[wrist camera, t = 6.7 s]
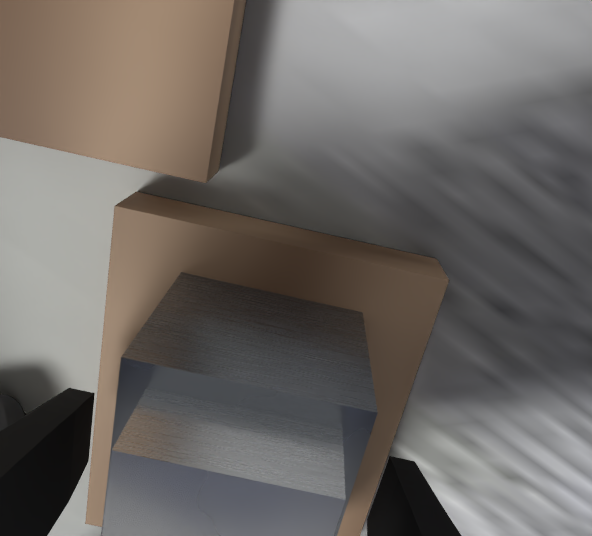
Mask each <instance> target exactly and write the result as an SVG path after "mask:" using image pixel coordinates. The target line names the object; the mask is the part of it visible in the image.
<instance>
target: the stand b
mask: <svg viewBox="0 0 592 536" xmlns="http://www.w3.org/2000/svg"><path fill="white" fill-rule="evenodd" d="M181 272H183V273H188V274H192V275H197V276H201V277H206V278H210V279H215V280H219V281H224V282H228V283H233V284H237V285H242V286H246V287H251V288H255V289H260V290H264V291H269V292H273V293H278V294H282V295H287V296H291V297H296V298H300V299H305V300H309V301H314V302H318V303H323V304H327V305H332V306H336V307H341V308H345V309H350V310H354V311H359V312H363V318H364V325H365V331H366V338H367V345H368V351H369V358H370V365H371V371H372V378H373V385H374V391H375V398H376V405H377V411H378V414H377V417H376V420H375V423H374V426H373V429H372V432H371V435H370V438H369V441H368V444H367V447H366V450H365V453H364V456H363V459H362V462H361V465H360V468H359V471H358V474H357V477H356V480H355V483H354V486H353V489H352V492H351V495H350V498H349V501H348V504H347V507H346V510H345V513H344V516H343V519H342V522H341V525H340V528H339V531H338V534H337V536H360V534H361V531H362V528H363V525H364V522H365V519H366V517H367V514H368V511H369V508H370V505H371V502H372V499H373V497H374V494H375V491H376V488H377V485H378V482H379V479H380V477H381V474H382V471H383V468H384V465H385V462H386V459H387V457H388V454H389V451H390V448H391V445H392V442H393V439H394V437H395V434H396V431H397V428H398V425H399V422H400V419H401V417H402V414H403V411H404V408H405V405H406V402H407V399H408V397H409V394H410V391H411V388H412V385H413V382H414V380H415V377H416V374H417V371H418V368H419V365H420V362H421V360H422V357H423V354H424V351H425V348H426V345H427V342H428V340H429V337H430V334H431V331H432V328H433V325H434V322H435V320H436V317H437V314H438V311H439V308H440V305H441V302H442V300H443V297H444V294H445V291H446V288H447V285H448V282H449V279H448V277H447V276H446V274H445V272H444V270H443V269H442V267H441V265H440V264H439V262H438V260H437V259H435V258H431V257H426V256H422V255H418V254H413V253H409V252H404V251H400V250H395V249H391V248H386V247H382V246H377V245H373V244H368V243H364V242H359V241H355V240H350V239H346V238H342V237H337V236H333V235H328V234H324V233H319V232H315V231H310V230H306V229H301V228H297V227H292V226H288V225H283V224H279V223H274V222H270V221H266V220H261V219H257V218H252V217H248V216H243V215H239V214H234V213H230V212H225V211H221V210H216V209H212V208H207V207H203V206H198V205H194V204H189V203H185V202H181V201H176V200H172V199H167V198H163V197H158V196H154V195H149V194H145V193H140V192H135V193H134V194H132V195H131V196H129V197H128V198H126V199H124V200H123V201H121V202H120V203H118V204H117V205H115V208H114V219H113V230H112V241H111V252H110V262H109V273H108V284H107V295H106V306H105V316H104V327H103V338H102V349H101V360H100V371H99V381H98V392H97V403H96V414H95V425H94V436H93V446H92V457H91V468H90V479H89V490H88V501H87V511H86V522H85V524H90V525H95V526H100V527H102V523H103V514H104V505H105V496H106V487H107V478H108V469H109V460H110V451H111V443H112V434H113V425H114V416H115V407H116V398H117V389H118V380H119V371H120V362H121V357H122V355H123V354H124V352H125V351H126V349H127V348H128V347H129V345H130V344H131V342H132V341H133V340H134V338H135V337H136V335H137V334H138V332H139V331H140V330H141V328H142V327H143V325H144V324H145V323H146V321H147V320H148V318H149V317H150V316H151V314H152V313H153V311H154V310H155V308H156V307H157V306H158V304H159V303H160V301H161V300H162V299H163V297H164V296H165V294H166V293H167V291H168V290H169V289H170V287H171V286H172V284H173V283H174V282H175V280H176V279H177V277H178V276H179V275H180V273H181Z"/></svg>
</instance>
